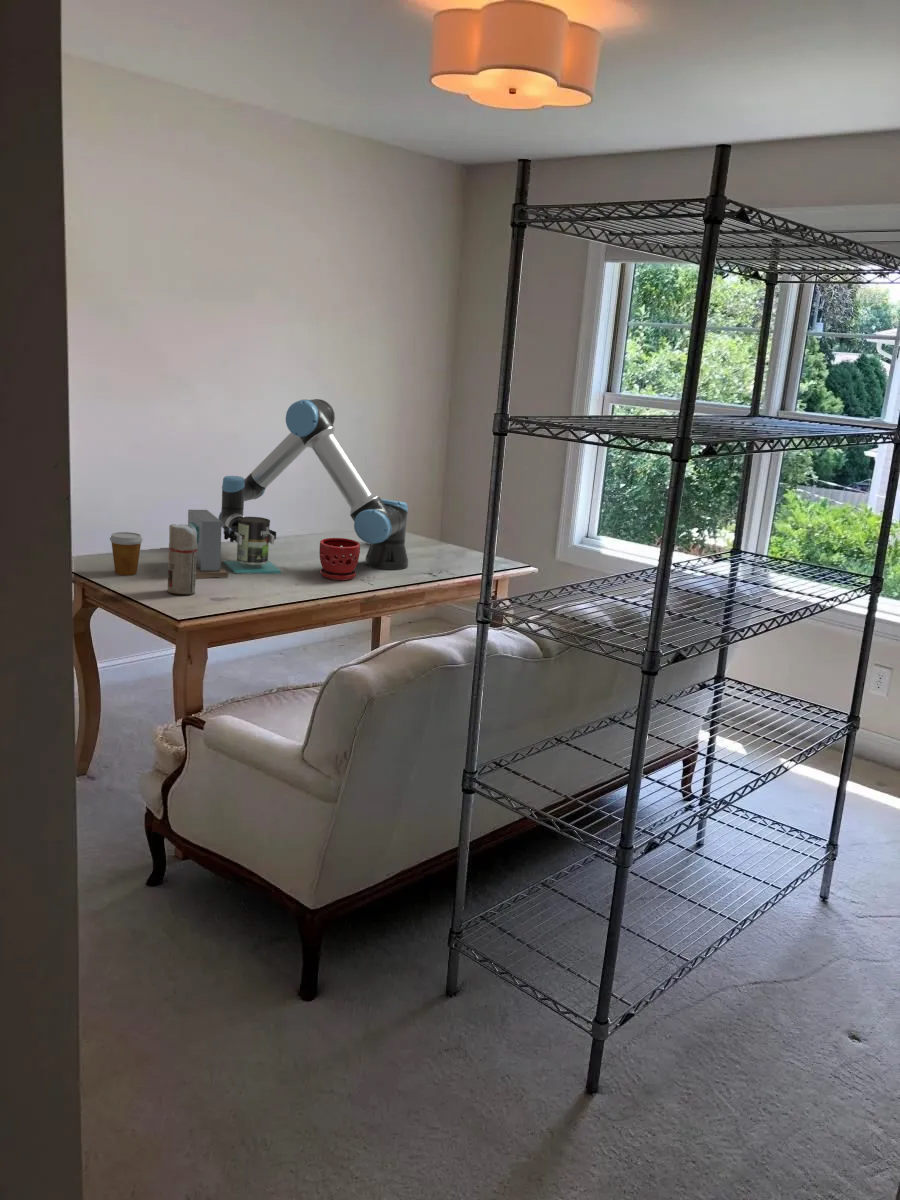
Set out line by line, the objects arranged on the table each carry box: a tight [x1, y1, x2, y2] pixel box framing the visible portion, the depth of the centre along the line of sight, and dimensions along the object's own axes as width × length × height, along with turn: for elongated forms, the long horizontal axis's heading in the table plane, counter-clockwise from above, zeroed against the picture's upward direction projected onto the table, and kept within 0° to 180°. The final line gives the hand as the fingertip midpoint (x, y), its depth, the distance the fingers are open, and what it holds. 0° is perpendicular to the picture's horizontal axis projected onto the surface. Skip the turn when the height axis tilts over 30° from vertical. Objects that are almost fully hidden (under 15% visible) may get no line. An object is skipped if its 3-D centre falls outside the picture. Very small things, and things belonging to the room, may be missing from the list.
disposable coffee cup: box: [109, 531, 143, 577], centre depth 302 cm, size 10×10×12 cm
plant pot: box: [319, 537, 361, 581], centre depth 322 cm, size 13×13×12 cm
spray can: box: [166, 523, 197, 595], centre depth 285 cm, size 8×8×20 cm
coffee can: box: [236, 516, 271, 565], centre depth 322 cm, size 10×10×14 cm
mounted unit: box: [187, 509, 229, 579], centre depth 315 cm, size 24×10×18 cm, turn 26°
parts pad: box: [223, 560, 282, 574], centre depth 324 cm, size 15×15×1 cm
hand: (257, 540), depth 318 cm, fingers closed on coffee can, 10 cm apart
